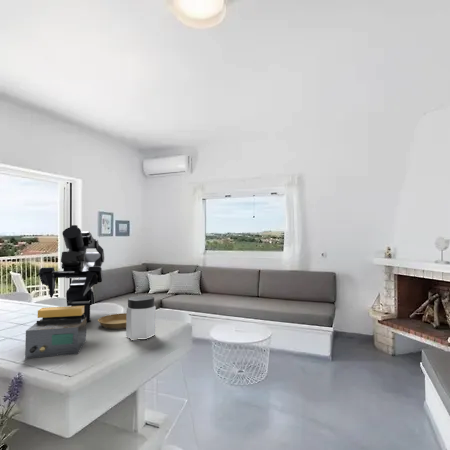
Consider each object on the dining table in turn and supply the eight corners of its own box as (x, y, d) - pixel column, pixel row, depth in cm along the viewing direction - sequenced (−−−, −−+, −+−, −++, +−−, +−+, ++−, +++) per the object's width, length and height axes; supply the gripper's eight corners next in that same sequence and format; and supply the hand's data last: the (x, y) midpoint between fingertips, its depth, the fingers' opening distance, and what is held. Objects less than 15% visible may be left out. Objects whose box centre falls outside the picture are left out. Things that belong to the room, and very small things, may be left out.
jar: (156, 332, 103) (157, 295, 104) (153, 340, 95) (154, 300, 96) (128, 333, 102) (129, 295, 103) (123, 341, 94) (123, 300, 95)
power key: (42, 314, 92) (42, 307, 92) (84, 312, 95) (84, 305, 95) (37, 317, 88) (37, 310, 88) (81, 315, 91) (81, 308, 91)
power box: (40, 343, 92) (41, 316, 93) (86, 340, 95) (86, 314, 96) (23, 360, 80) (24, 328, 80) (76, 355, 83) (77, 325, 83)
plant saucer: (116, 333, 103) (116, 325, 103) (88, 327, 111) (89, 319, 111) (149, 323, 115) (149, 316, 115) (123, 318, 123) (123, 311, 123)
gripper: (41, 242, 103) (27, 281, 91) (101, 242, 107) (96, 279, 96) (47, 265, 110) (36, 303, 99) (104, 264, 114) (99, 300, 103)
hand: (67, 296), depth 99 cm, fingers open, 9 cm apart
